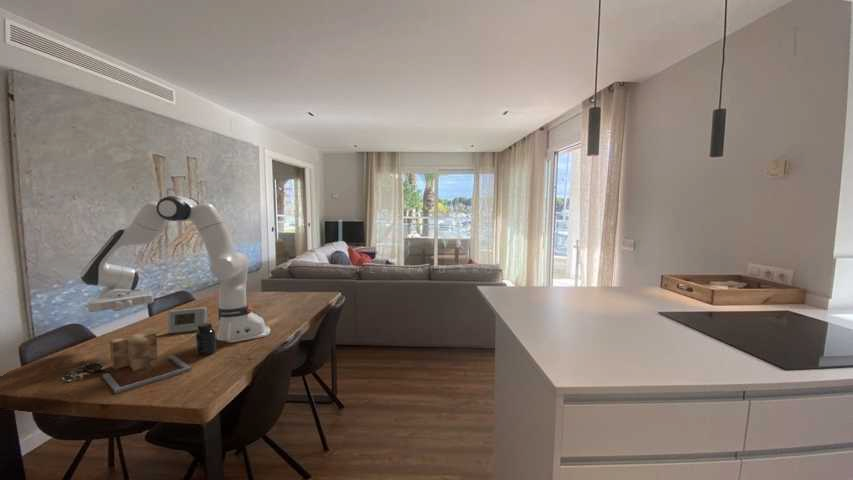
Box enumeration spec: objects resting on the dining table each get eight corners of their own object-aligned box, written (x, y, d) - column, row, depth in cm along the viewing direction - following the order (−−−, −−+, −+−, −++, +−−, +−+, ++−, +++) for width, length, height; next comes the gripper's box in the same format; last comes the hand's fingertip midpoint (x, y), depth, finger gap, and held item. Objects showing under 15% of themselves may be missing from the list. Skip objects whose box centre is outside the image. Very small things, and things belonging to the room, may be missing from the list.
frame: (173, 357, 138) (173, 355, 138) (191, 370, 127) (191, 367, 127) (103, 377, 122) (102, 374, 122) (115, 393, 110) (115, 390, 110)
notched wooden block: (154, 354, 141) (152, 330, 140) (164, 362, 133) (162, 337, 133) (111, 365, 131) (109, 340, 130) (119, 375, 123) (117, 347, 122)
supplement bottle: (202, 349, 146) (201, 322, 145) (219, 349, 146) (218, 321, 146) (193, 356, 139) (191, 327, 138) (210, 355, 140) (209, 326, 139)
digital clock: (165, 334, 165) (164, 313, 164) (174, 328, 174) (173, 308, 173) (203, 332, 168) (202, 310, 168) (210, 326, 177) (209, 306, 176)
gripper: (83, 297, 137) (89, 302, 129) (147, 288, 154) (157, 292, 145) (84, 312, 138) (90, 319, 129) (148, 302, 154) (157, 307, 146)
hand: (126, 305), depth 137 cm, fingers closed
